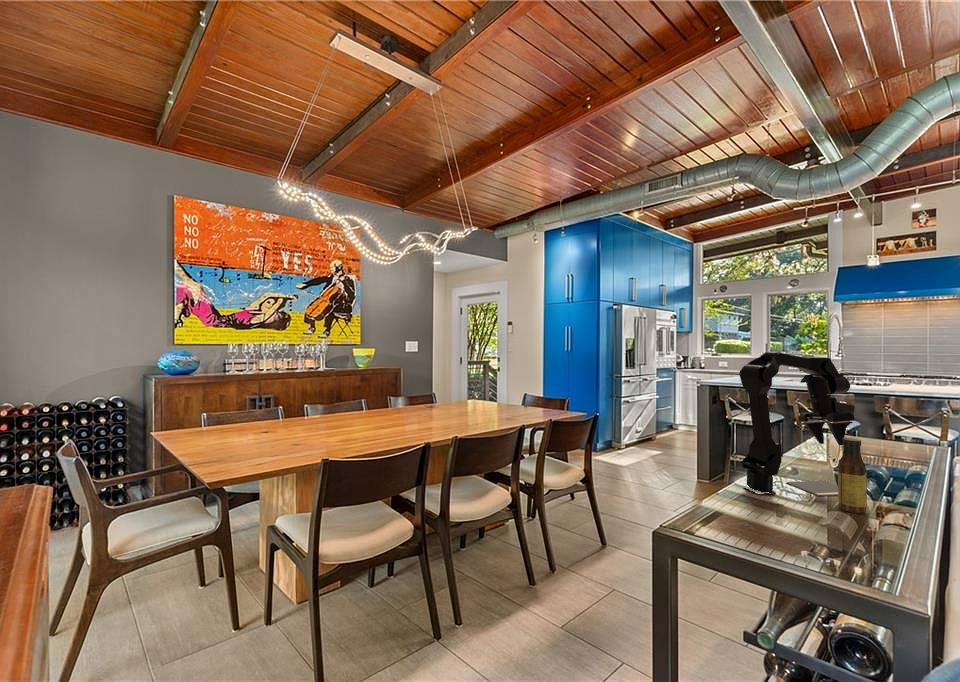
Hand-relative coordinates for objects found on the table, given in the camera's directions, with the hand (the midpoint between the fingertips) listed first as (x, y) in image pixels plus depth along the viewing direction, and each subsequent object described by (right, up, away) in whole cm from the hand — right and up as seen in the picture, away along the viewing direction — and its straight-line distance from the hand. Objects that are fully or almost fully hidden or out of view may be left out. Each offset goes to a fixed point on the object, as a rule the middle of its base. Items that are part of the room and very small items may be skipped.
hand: (831, 444), depth 143 cm
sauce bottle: (-7, -15, -16) cm, 23 cm away
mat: (-2, -14, +1) cm, 15 cm away
